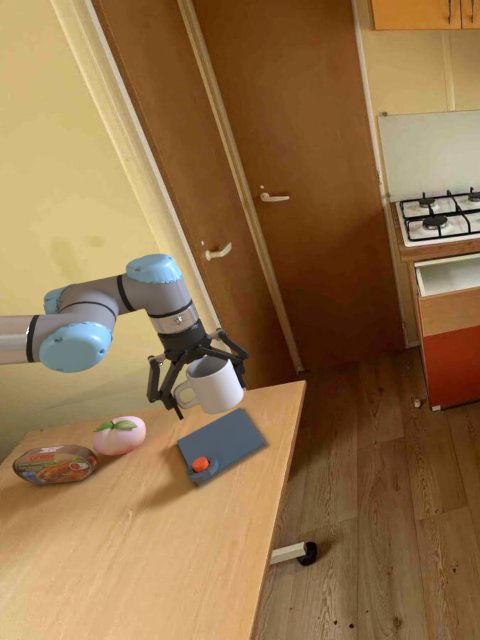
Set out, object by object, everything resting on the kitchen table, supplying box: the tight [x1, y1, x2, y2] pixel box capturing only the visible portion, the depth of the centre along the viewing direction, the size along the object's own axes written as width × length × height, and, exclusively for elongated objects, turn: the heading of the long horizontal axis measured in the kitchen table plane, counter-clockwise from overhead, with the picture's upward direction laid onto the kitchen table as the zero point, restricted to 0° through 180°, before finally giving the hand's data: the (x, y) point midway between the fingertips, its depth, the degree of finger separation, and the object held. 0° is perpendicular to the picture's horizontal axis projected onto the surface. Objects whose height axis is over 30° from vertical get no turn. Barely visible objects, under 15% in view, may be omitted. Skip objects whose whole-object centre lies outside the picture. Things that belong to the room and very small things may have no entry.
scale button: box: [192, 457, 209, 473], centre depth 93 cm, size 3×3×2 cm
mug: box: [172, 355, 245, 415], centre depth 96 cm, size 12×8×11 cm
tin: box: [11, 444, 99, 485], centre depth 92 cm, size 15×3×8 cm, turn 95°
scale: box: [176, 406, 267, 487], centre depth 100 cm, size 15×17×3 cm
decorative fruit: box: [92, 415, 147, 456], centre depth 98 cm, size 9×8×10 cm
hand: (212, 400), depth 98 cm, fingers closed on mug, 12 cm apart
